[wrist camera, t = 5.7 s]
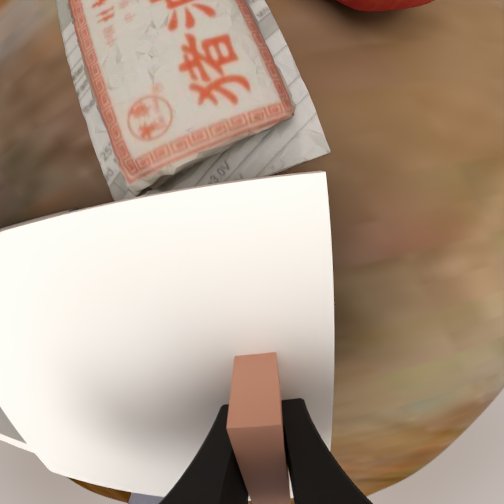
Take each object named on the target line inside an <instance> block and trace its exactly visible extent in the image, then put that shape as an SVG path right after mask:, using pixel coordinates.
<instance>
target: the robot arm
mask: <svg viewBox="0 0 504 504" xmlns="http://www.w3.org/2000/svg"><path fill="white" fill-rule="evenodd" d="M281 405H282V420H283V429H284V437H285V446H286V455H287V464H288V470H289V475H290V481H291V486H292V492H293V497H294V502H295V504H373V503H372V502H371V501H370V500H369V499H367V497H366V496H365V495H364V494H363V493H362V492H361V491H360V490H359V489H358V488H357V486H356V485H355V484H354V483H353V482H352V481H351V479H350V478H349V477H348V476H347V474H346V473H345V472H344V471H343V469H342V468H341V467H340V465H339V464H338V463H337V461H336V460H335V458H334V457H333V455H332V454H331V452H330V451H329V449H328V448H327V446H326V444H325V443H324V441H323V440H322V438H321V436H320V434H319V433H318V431H317V429H316V427H315V425H314V423H313V421H312V419H311V417H310V415H309V412H308V410H307V407H306V404H305V400H304V399H302V398H296V399H287V400H281ZM228 409H229V404H224V405H222V406H221V407H220V410H219V412H218V415H217V417H216V419H215V421H214V423H213V425H212V427H211V429H210V431H209V433H208V435H207V437H206V439H205V440H204V442H203V444H202V445H201V447H200V449H199V451H198V452H197V454H196V456H195V457H194V459H193V460H192V462H191V463H190V465H189V466H188V468H187V469H186V470H185V472H184V473H183V475H182V476H181V478H180V479H179V480H178V481H177V483H176V484H175V485H174V487H173V488H172V489H171V490H170V491H169V493H168V494H167V495H166V496H165V497H160V496H153V495H146V494H140V493H134V492H132V493H131V496H130V499H129V502H128V504H248V498H249V494H248V491H247V488H246V486H245V483H244V480H243V477H242V474H241V471H240V468H239V465H238V463H237V460H236V457H235V454H234V451H233V447H232V444H231V441H230V438H229V435H228V432H227V429H226V427H227V418H228Z"/></svg>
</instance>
